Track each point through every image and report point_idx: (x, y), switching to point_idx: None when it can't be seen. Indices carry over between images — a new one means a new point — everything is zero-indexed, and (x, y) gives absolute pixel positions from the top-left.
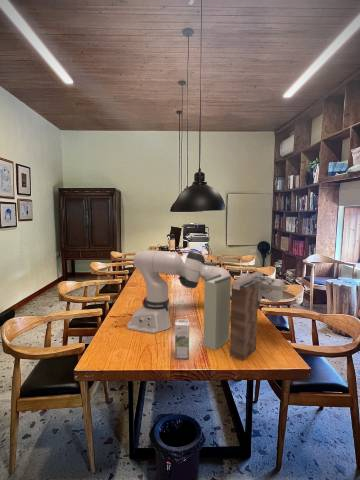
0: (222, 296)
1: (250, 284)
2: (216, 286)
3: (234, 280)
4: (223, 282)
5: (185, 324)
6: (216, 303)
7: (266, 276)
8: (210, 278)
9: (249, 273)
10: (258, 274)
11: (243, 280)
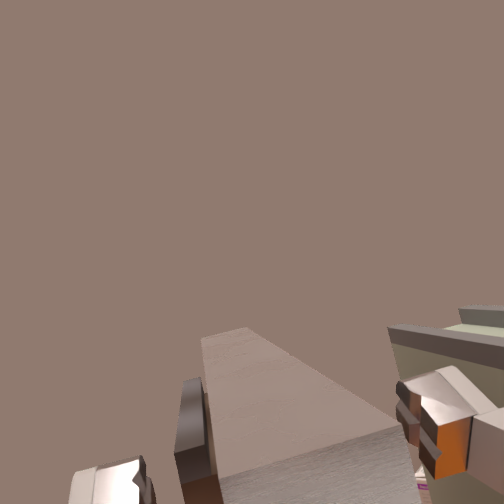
0: (467, 482)
1: (184, 398)
2: (396, 361)
3: (244, 328)
4: (442, 366)
5: (422, 469)
6: (429, 481)
7: (77, 473)
8: (489, 312)
9: (404, 381)
10: (211, 402)
11: (203, 343)
